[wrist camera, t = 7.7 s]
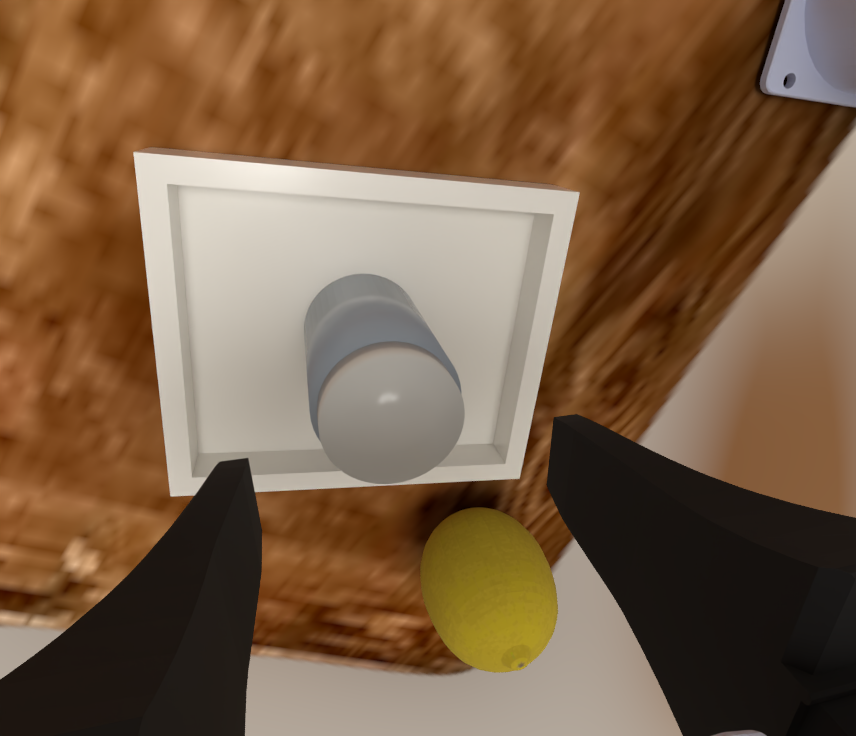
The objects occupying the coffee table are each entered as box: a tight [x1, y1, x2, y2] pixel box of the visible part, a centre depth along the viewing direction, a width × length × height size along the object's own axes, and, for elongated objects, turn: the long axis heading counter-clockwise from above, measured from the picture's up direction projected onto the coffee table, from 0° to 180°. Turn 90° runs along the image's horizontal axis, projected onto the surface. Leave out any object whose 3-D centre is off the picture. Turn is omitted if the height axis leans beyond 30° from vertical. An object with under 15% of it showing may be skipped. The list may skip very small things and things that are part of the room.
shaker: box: [304, 274, 465, 484], centre depth 18 cm, size 4×4×7 cm
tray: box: [134, 147, 580, 496], centre depth 21 cm, size 14×12×2 cm
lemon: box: [420, 507, 558, 672], centre depth 23 cm, size 6×6×8 cm
